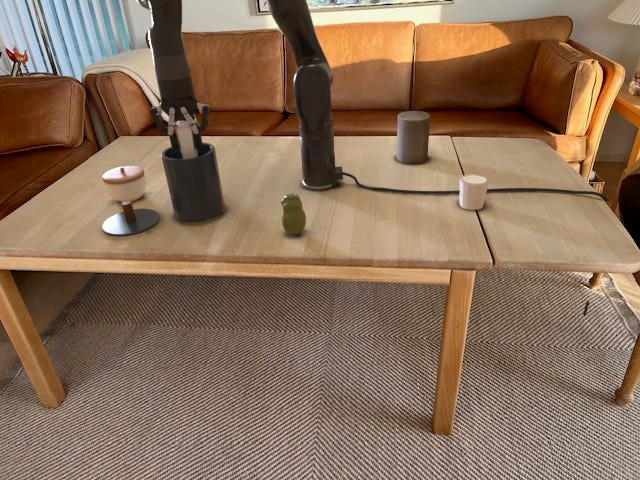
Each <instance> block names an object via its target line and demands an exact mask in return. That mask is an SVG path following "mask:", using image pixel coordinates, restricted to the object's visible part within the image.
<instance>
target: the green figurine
mask: <svg viewBox="0 0 640 480" xmlns="http://www.w3.org/2000/svg"><path fill="white" fill-rule="evenodd" d="M280 204H281V206H282V216H281V226H282V227H283V230H284V231H285V232H286V233H288V234H289V235H299V234H300V233H302V232H303V231H304V230H305V228H306V224H307V216H306V212H305V210H304V208H303V202H302V200H301V198H300V196H299V194H298V193H297V192H293V193H288V194H284V195H282V198H281V200H280Z"/></svg>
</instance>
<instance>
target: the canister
mask: <svg viewBox="0 0 640 480" xmlns="http://www.w3.org/2000/svg"><path fill="white" fill-rule="evenodd" d="M197 153H198V157H194V158H188V159H183V156H182V153H181V149H180V148H179V149H178V150H175V149H174V148H172V146H169V147H167V148H165V149H164V150H162V152H161V153H160V156H161V160H162V165H163V170H164V174H165V178H166V183H167V187H168V193H169V195H170V196H169V197H170V200H171V204H172V209H173V213H174V217H175V219H177V220H178V221H180V222H183V223H190V224H191V223H202V222H206V221H210V220H213V219H216V218H217V217H222V216H223V215H224V214H225V211H226V210H225V209H226V208H225V207H226V206H225V199H224V194H223V188H222V184H221V177H220V171H219V165H218V157H217V152H216V148H215V146H214V144H211V143H210V142H204V141H202V145H201V147H200V148H199V149H197Z"/></svg>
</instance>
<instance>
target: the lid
mask: <svg viewBox="0 0 640 480" xmlns="http://www.w3.org/2000/svg"><path fill="white" fill-rule="evenodd" d="M120 203H121V208H122V211H121V212H117V213H116V214H113V215H112V216H110V217H108V218H107V219H106V220H104V222H103V223H102V226H101V227H102V230H103V232H104V233H105V234H106V235H108V236H112V237H130V236H135V235H138V234H142V233H144V232H147V231H149V230H151V229H152V228H154V227H155V226H157V225H158V223H159V222H160V220H161V216H160V214H159V212H158V211H157V210H154V209H151V208H135V209H134V206H133V201H124V202H120Z"/></svg>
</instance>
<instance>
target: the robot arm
mask: <svg viewBox="0 0 640 480" xmlns="http://www.w3.org/2000/svg"><path fill="white" fill-rule="evenodd" d="M136 1H137V3H138V4H139V5H140V6H141V7H142V8H144V9H146V10H148V11H151V21H152V22H151V23H152V25H151V26H149V28H148V32H147V33H148V40H149V45H150V50H151V54H152V61H153V70H154V74H155V79H156V83H157V88H158V93H159V97H160V103H159V105H157V106H156V105H154V106H152V107H150V109H149V113H150V115H151V117H152V119H153V121H154V123H155V125H156V127H157V129H158V131H159V133H161V134H166V135H168V136H169V141H170V147H172V148H174V149H175V150H178V149H179V148H180V146H179V142H178V139H177V135H176V131H175V128H176V127H177V124H178V122H179V121H180V120H183V121H187V122H188V124H189V126H191V128H192V130H193V132H194V134H193V137H194V142H195V148H196V149H199V148H200V147H201V145H202V142H203V138H202V132H205V131H206V130H207V128H208V126H209V125H208V124H209V118H210V110H211V105H210V103H201V102H198V100H197V99H196V96H195V91H194V90H195V89H194V84H193V79H192V71H191V67H190V63H189V60H188V56H187V52H186V48H185V47H186V46H185V40H184V37H183V36H184V35H183V29H182V27H183V0H136ZM265 3H266V5H267V8H268V10H269V12H270V15H271V17H272V19H273V20H274V22H275V24H276V26H277V27H278V29H279V30H280V32H281V33H282V35H283V36H284V38H285V39H286V41H287V43H288V45H289V47H290V50H291V53H292V55H293V58H294V62H295V66H296V72H295V74H294V77H293V93H294V103H295V104H294V105H295V112H296V116H297V119H298V129H299V145H300V158H301V173H302V186H303V187H304V188H306V189H307V190H312V191H322V190H323V191H324V190H327V189H328V190H329V189H330V188H336V187H337V181H343V180H344V176H346V177H349V178H351V179H353V181H354V182H355V184H356V185H357V186H358V187H359V188H362V189H365V190H372V191H384V192H390V193H391V192H392V193H402V194H420V195H423V194H425V195H429V194H430V195H446V194H449V195H450V194H453V195H454V194H460V189H459V190H414V189H413V190H409V189H399V188H398V189H397V188H388V187H372V186H367V185H363V184H361V183H360V182H359V180H358V179H357V177H356V176H355V175H353V174H351V173H348V172H345V171H343V166H336V152H335V130H334V128H335V127H334V113H333V109H332V93H331V92H332V91H331V90H332V89H331V87H332V85H333V81H334V73H333V70H332V67H331V65H330V63H329V61H328V59H327V57H326V54H325V52H324V50H323V48H322V45H321V43H320V41H319V38H318V36H317V33H316V30H315V25H314V22H313V18H312V15H311V11H310V8H309V5H308V1H307V0H265ZM197 109H198V112H199V113H200V114H201V118H200V124H199V122H198V119H197V117H196V115H195V113H196V111H197ZM163 113H165V114H166V116H167V117H168V122H167V123H166V121H165V120H164V117H163V116H162V115H163ZM490 192H548V193H549V192H550V193H551V192H552V193H564V194H565V193H566V194H573V195H594V196H597V197H600V198H601V199H602V200H604V201H605V202H610V200H609V198H608V197H606V196H605V195H604V194H602V193H599V192H597V191H591V190H572V189H571V190H570V189H560V188H544V187H543V188H542V187H541V188H539V187H505V188H503V187H502V188H501V187H500V188H487V192H486V193H490ZM590 302H591V301H590V300H589V301H586V302H585V306H584V309H583V313H582V316H583V317H586V316H587V314H588V313H587V312H588V309H589V305H590Z"/></svg>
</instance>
